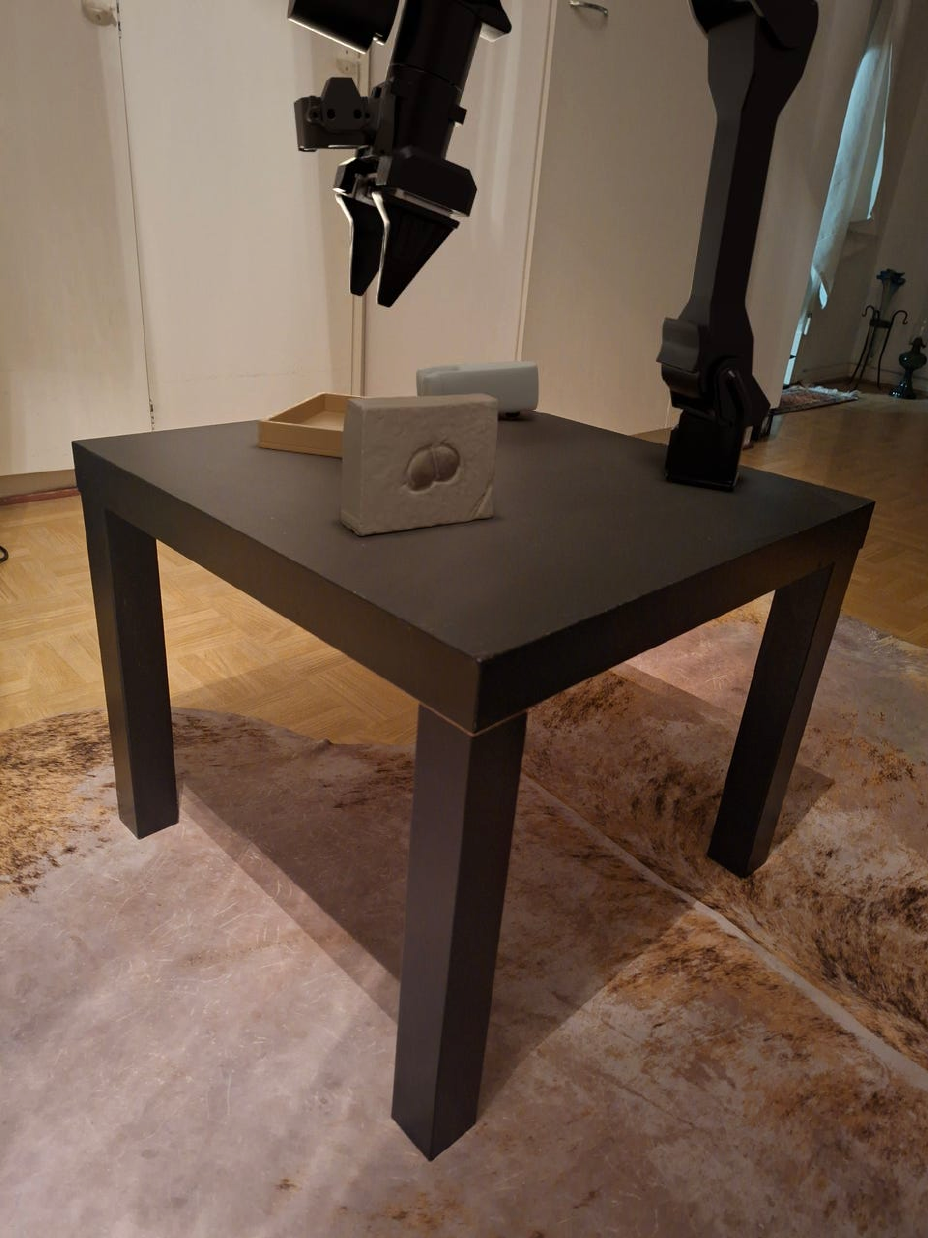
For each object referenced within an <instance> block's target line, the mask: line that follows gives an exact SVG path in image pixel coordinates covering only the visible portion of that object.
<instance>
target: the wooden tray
mask: <svg viewBox="0 0 928 1238" xmlns="http://www.w3.org/2000/svg"><path fill="white" fill-rule="evenodd" d="M354 398H372V397H371V396H363V395H362V396H361V395H353V394H344V393H335V392H326V391H320V392H318V393H316V394H314V395H312V396H309V397H307V398H304V399H303V400H301V401H298V402H296V403H294V404H292V405H289V406H288V407H285V408H284V409H281V410H279V411H277V412H274V413H273V414H270V415H268V416H266V417H264V418H262V419H260V420H258V421H257V425H258V447H259V448H263V449H270V450H278V451H285V452H293V453H303V454H310V455H317V456H325V457H326V456H327V457H332V458H333V457H334V458H341V459H342V436H343V428H344V419H345V414H346V407H347V400H348V399H354Z"/></svg>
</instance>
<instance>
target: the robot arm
mask: <svg viewBox="0 0 928 1238" xmlns="http://www.w3.org/2000/svg"><path fill="white" fill-rule="evenodd" d="M400 1H401V0H288V6H287V15H286V18H287V20H288V21H290V22H293V23H295V24H297V25H299V26H301V27H304V28H306V29H307V30H311V31H313V32H315V33H317V34H319V35H321V36H322V37H323V36H324V37H326V38H328V39H329V40H330V39H331V40H332V41H334V42H337V43H339V44H341V45H343V46H345V47H348V48H349V49H352V50H354V51H356V52H358V53H361V54H363V55H366V54H367V53H368V51H369V50H370V48H371V46H372V44H373V41H375V43H377V44H379V45H382V46H385V44H386V43H387V41H388V39H389V37H390V34H391V32H392V29H393V27H394V24H395V20H396V17H397V13H398V10H399V5H400ZM686 1H687V5H688V8H689V9H688V10H689V13H690V17H691V19H692V21H693V22H694V23H695V25H696V26H697V28H698V30H699V31H700V32H701V33H702V35H703V37H704V38H705V39H706V41H707V54H706V55H707V58H706V59H707V60H706V62H707V63H706V73H707V74H706V81H707V84H708V90H709V93H710V96H711V99H712V104H713V108H714V111H715V116H716V123H715V129H714V135H713V136H714V137H713V143H712V144H713V145H712V150H711V155H710V162H709V170H708V176H707V182H706V189H705V196H704V203H703V209H702V216H701V223H700V227H699V228H700V229H699V236H698V242H697V249H696V256H695V262H694V267H693V268H694V269H693V275H692V283H691V288H690V294H689V297H688V300H687V302H686V304H685V306H684V307H683V308H682V310H681V312H680V313H679V315H678V317H677V318H673V317H668V316H666V317H665V318H664V319H663V321H662V324H661V345H660V349H659V351H658V354H657V356H656V358H655V362H656V363H658V364H659V363H660V376H661V378H662V381H663V382H664V383H665V385H666V386H667V387H668V389H669V395H670V396H669V397H670V404H671V407H672V408H673V409H679V410H682V411H681V413H680V414H679V418H678V423H676V424H675V425H673V427H672V428H671V429H670V433H669V439H668V444H667V451H666V457H665V462H664V466H663V467H664V469H665V471H667V472H666V474H665V480H666V481H671V482H679V483H684V484H691V485H695V486H701V487H708V488H713V489H719V490H720V489H721V490H724V491H725V490H726V491H734V490H735V486H736V484H737V482H738V479H739V477H740V471H739V470H740V469H739V467H740V462H741V459H742V455H743V449H744V446H745V440H746V436H747V431H748V428H750V427H761V426H762V425H763V423H764V421H765V419H766V417H767V415H768V413H769V412H770V409H771V407H772V404H771V402H770V400H769V399H768V397H767V395H766V394H765V392H764V391H763V389H762V388H761V386H760V385H759V383H758V381H757V379H756V378H755V375H753V373H754V357H755V356H754V355H755V354H754V353H755V335H754V332H753V328H752V324H751V321H750V317H749V313H748V309H747V305H746V303H747V300H746V299H747V294H748V289H749V282H750V277H751V271H752V267H753V266H752V264H753V260H754V254H755V249H756V244H757V239H758V232H759V228H760V227H759V226H760V220H761V215H762V210H763V204H764V198H765V194H766V193H765V192H766V189H767V182H768V176H769V171H770V170H769V169H770V165H771V158H772V155H773V147H774V142H775V136H776V131H777V126H778V123H779V122H778V121H779V118H780V116H781V114H782V112H783V110H784V108H785V107H786V105H787V104H788V102H789V101H790V98H791V97H792V95H793V94H794V92H795V91H796V89H797V87H798V85H799V84H800V82H801V81H802V79H803V77H804V75H805V72H806V68H807V66H808V62H809V59H810V56H811V52H812V49H813V46H814V43H815V40H816V36H817V33H818V30H819V21H820V7H819V2H818V0H686ZM512 30H513V25H512V22H511V20H510V18H509V16H508V13H507V12H506V10H505V9H504V7H503V5H502V1H501V0H403V4H402V8H401V14H400V17H399V21H398V25H397V28H396V32H395V37H394V41H393V44H392V45H393V46H392V49H391V52H390V53H391V54H390V57H389V60H388V64H387V69H386V73H385V78H384V81H382V82H380V83H378V84H376V85H375V86H373V87H372V89H371V92H370V96H368V95H367V96H366V95H363V96H361V93H360V91H359V89H358V87H357V85H356V83H355V81H354V79H353V77H349V76H341V77H340V76H331V77H329V78H327V79H326V81H325V83H324V85H323V88H322V91H321V94H320V96H317V95H309V96H303V97H300V98H298V99H297V100H295V101H294V102H293V113H294V123H295V133H296V145H297V152H298V153H316V152H317V151H318V150H355V151H354V156H353V157H350V158H349V159H347V160H345V161H343V162H342V163H340V164H338V165H337V168H336V172H335V177H334V180H333V185H332V190H333V191H335V192H338V193H336V194H334V195H335V199H336V202H337V203H338V204H339V205H340V207H341V208H342V210H343V212H344V214H345V216H346V218H347V219H348V222H349V273H348V275H349V277H348V281H349V282H348V286H349V287H348V291H349V293H350V294H351V295H353V296H355V297H356V296H357V297H360V298H361V297H363V296H364V294H365V293H366V292H367V290H368V289H369V287H370V286H371V284H372V283H373V281H374V280H375V278H376V277H377V275H378V277H377V287H376V297H375V302H376V304H377V305H379V306H382V307H385V308H391V307H393V306H394V304H395V303H396V301H397V300H398V299H399V297H401V295H402V294H403V292H405V290H407V288H408V286H409V285H410V284H411V283H412V281H413V280H414V279H415V278H416V276H417V275H418V273H419V272H420V271H421V270H422V269H423V267H424V266H425V265H426V264H427V263H428V261H429V260H430V259H431V258H432V256H433V255H434V254H435V253H436V251H437V250H438V249H439V248H440V247H441V246H442V245H443V244H444V243H445V241H446V239H448V237H449V236H450V235H451V234H452V233H453V231H455V230H458V228H459V227H460V224H461V222H460V221H459V220H457V219H455V218H453V217H451V215H452V216H454V217H457V218H470V216H471V214H472V213H471V212H472V209H473V205H474V202H475V198H476V195H477V192H478V186H477V185H476V181H475V180H474V176H473V174H472V172H471V170H470V169H469V168H466V167H465V166H462V165H459V164H457V163H455V162H453V161H450V160H448V159H447V155H448V151H449V147H450V144H451V141H452V137H453V133H454V129H455V128H456V127H460V126H463V125H464V123H465V119H466V116H467V112H468V109H466V108H464V107H462V106H461V104H462V102H463V97H464V93H465V89H466V86H467V82H468V79H469V76H470V71H471V69H472V68H471V67H472V64H473V60H474V57H475V53H476V49H477V46H478V42H479V40H480V37H481V38H483V39H484V40H486V41H488V42H490V43H492V42H495V41H497V40H499V39H501V38H503V37H505V36H506V35H508V34H510V33H511V32H512Z"/></svg>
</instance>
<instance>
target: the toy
mask: <svg viewBox="0 0 928 1238" xmlns="http://www.w3.org/2000/svg"><path fill="white" fill-rule="evenodd" d="M415 377H416V378H415V384H416V385H415V386H416V396H444V395H465V394H475V393H483V394H486V395H489V396H491V397H493V398H496V399H498V414H504V415H505V417H506V418H507V419H510V420H511V419H512V420H513V419H514V420H515V419H517V418H519V417H520V414H521V412H527V411H528V412H529V411H536V410H537V409H538V405H539V397H540V395H539V394H540V393H539V391H540V383H539V380H540V379H539V367H538V365H537V364H536V363H535V361H533V360H519V361H517V360H516V361H515V360H514V361H513V360H512V361H510V360H509V361H479V362H476V361H475V362H461V363H455V364H448V365H434V366H427V367H423V368H419V369H418V368H417V369H416V372H415Z"/></svg>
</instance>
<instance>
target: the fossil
mask: <svg viewBox="0 0 928 1238" xmlns="http://www.w3.org/2000/svg"><path fill="white" fill-rule="evenodd" d="M498 415H499V413H498V399H496V398H493V397H491V396H489V395H486V394H483V393H475V394H465V395H444V396H417V395H412V396H411V395H410V396H409V395H408V396H388V397H383V396H382V397H381V396H380V397H371V398H354V399H348V400H347V407H346V414H345V419H344V428H343V436H342V458H341V459H342V460H341V467H342V469H341V470H342V471H341V503H340V504H341V505H340V507H341V510H340V516H339V517H340V521H341V523H342V525H343V526H345V527H346V528H347V529H348V530H351V531H354V534H356V535H357V536H359V537H365V536H368V535H369V536H370V535H374V534H382V533H391V532H401V531H407V530H413V529H421V528H428V527H429V528H430V527H436V526H443V525H444V526H445V525H450V524H458V523H459V524H460V523H467V522H471V521H473V520H482V519H490V518H492V517H494V513H495V511H494V510H495V509H494V508H495V506H494V505H495V504H494V481H495V475H496V464H497V445H498V427H499V425H498V423H499V421H498Z"/></svg>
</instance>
